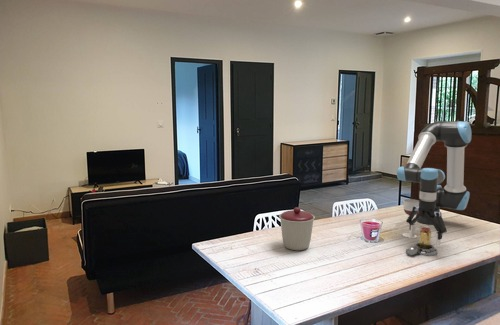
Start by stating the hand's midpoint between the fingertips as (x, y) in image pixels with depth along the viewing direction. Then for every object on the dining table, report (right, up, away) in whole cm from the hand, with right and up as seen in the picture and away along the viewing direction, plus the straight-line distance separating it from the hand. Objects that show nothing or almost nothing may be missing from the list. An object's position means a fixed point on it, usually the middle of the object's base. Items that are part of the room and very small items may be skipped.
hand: (424, 241), depth 184 cm
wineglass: (+3, -2, +23) cm, 23 cm away
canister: (-63, -5, +7) cm, 64 cm away
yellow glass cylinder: (0, -4, +1) cm, 4 cm away
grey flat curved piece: (-3, -5, -1) cm, 6 cm away
